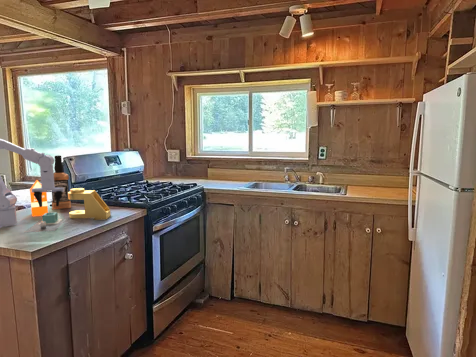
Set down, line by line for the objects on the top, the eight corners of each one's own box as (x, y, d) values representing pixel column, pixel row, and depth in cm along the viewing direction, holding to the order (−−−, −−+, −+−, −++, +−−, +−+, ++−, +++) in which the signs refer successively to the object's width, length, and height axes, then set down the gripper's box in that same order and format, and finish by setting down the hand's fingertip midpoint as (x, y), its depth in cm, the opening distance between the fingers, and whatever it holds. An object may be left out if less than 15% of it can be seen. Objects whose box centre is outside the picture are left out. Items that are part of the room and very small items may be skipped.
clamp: (66, 220, 178) (65, 190, 176) (73, 216, 187) (71, 187, 185) (106, 219, 181) (104, 190, 178) (110, 215, 190) (109, 187, 188)
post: (39, 229, 159) (39, 222, 158) (41, 227, 161) (41, 221, 161) (45, 228, 159) (45, 222, 159) (47, 227, 162) (46, 221, 161)
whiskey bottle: (52, 209, 202) (48, 156, 197) (51, 206, 210) (48, 155, 206) (71, 208, 207) (67, 155, 202) (70, 204, 215) (67, 154, 211)
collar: (42, 223, 167) (42, 215, 167) (46, 220, 173) (45, 212, 172) (54, 222, 169) (54, 214, 168) (57, 220, 174) (57, 212, 173)
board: (24, 234, 154) (23, 232, 154) (39, 222, 174) (39, 220, 174) (55, 232, 157) (55, 230, 156) (67, 221, 177) (66, 219, 177)
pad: (37, 225, 166) (37, 224, 165) (43, 220, 174) (43, 219, 174) (57, 224, 168) (57, 223, 168) (62, 219, 176) (62, 218, 176)
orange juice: (47, 213, 194) (44, 178, 191) (48, 216, 186) (45, 180, 183) (31, 214, 189) (28, 179, 187) (32, 218, 182) (29, 181, 179)
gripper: (28, 181, 162) (30, 208, 164) (61, 180, 166) (63, 207, 168) (33, 179, 169) (35, 205, 171) (65, 178, 172) (66, 204, 174)
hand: (49, 206), depth 170 cm, fingers open, 7 cm apart
